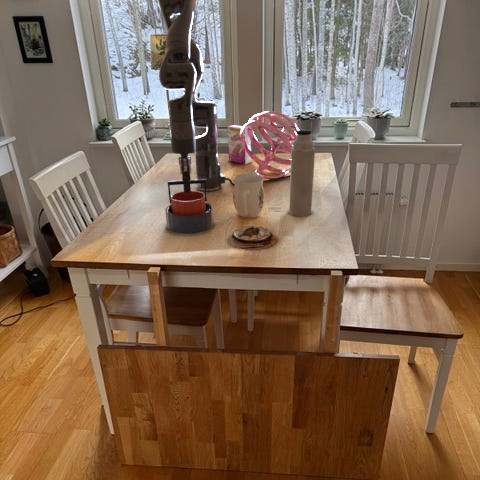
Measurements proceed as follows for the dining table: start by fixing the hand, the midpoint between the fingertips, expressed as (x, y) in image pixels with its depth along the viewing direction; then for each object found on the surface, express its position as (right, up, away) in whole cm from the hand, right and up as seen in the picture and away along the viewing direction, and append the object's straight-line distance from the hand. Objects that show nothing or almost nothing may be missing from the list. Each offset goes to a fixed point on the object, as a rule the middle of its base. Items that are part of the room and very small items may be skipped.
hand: (187, 191), depth 154 cm
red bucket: (0, -10, +6) cm, 12 cm away
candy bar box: (+17, +36, +79) cm, 88 cm away
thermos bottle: (+39, -3, +16) cm, 42 cm away
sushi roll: (+21, -17, -5) cm, 28 cm away
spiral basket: (+32, +23, +58) cm, 70 cm away
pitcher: (+20, -5, +14) cm, 25 cm away
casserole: (0, -10, +6) cm, 12 cm away
